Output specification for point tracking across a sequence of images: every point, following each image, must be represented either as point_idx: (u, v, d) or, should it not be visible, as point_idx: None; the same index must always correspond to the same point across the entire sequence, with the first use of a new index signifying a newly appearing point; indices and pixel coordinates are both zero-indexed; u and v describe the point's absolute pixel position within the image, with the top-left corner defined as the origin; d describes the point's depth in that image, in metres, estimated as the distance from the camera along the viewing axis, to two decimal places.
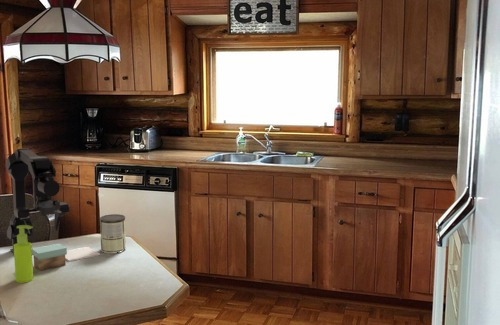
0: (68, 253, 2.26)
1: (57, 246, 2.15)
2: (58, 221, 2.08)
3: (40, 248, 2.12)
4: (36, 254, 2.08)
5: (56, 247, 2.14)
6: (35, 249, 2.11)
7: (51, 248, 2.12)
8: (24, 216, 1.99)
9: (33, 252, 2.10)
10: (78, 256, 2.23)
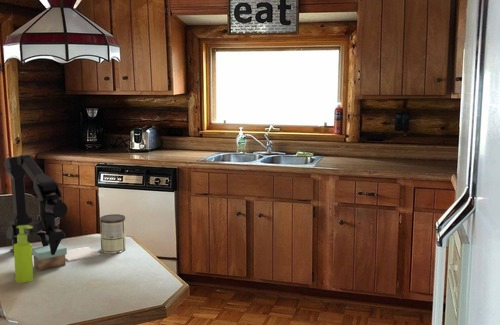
0: (68, 253, 2.26)
1: None
2: None
3: (40, 248, 2.12)
4: (36, 254, 2.08)
5: None
6: (35, 249, 2.11)
7: None
8: None
9: (33, 252, 2.10)
10: (78, 256, 2.23)
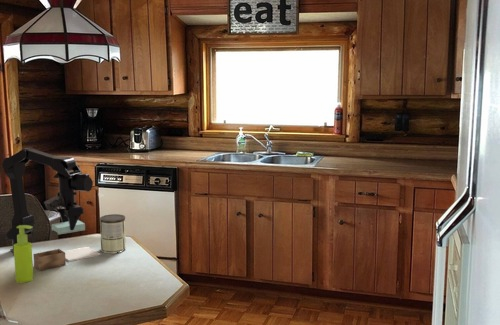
0: (68, 253, 2.26)
1: None
2: (69, 221, 2.15)
3: (59, 223, 2.20)
4: (56, 229, 2.15)
5: None
6: (55, 224, 2.18)
7: None
8: None
9: (53, 227, 2.18)
10: (78, 256, 2.23)
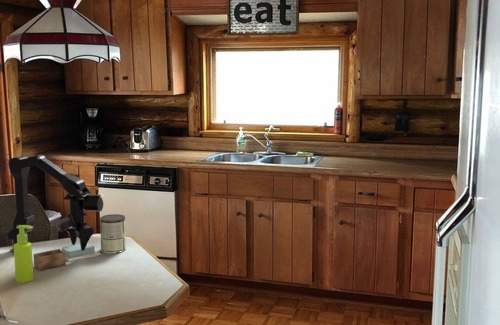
0: None
1: None
2: (80, 242, 2.21)
3: (70, 247, 2.26)
4: (67, 252, 2.22)
5: None
6: (65, 248, 2.25)
7: (80, 247, 2.26)
8: None
9: (63, 250, 2.24)
10: (78, 256, 2.23)
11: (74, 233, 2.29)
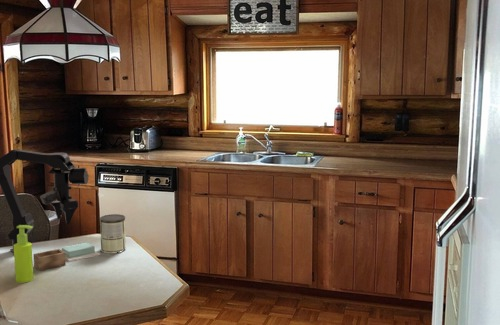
0: None
1: (85, 245, 2.29)
2: (65, 215, 2.23)
3: (70, 247, 2.26)
4: (67, 252, 2.22)
5: (84, 245, 2.28)
6: (65, 248, 2.25)
7: (80, 247, 2.26)
8: None
9: (63, 250, 2.24)
10: (78, 256, 2.23)
11: (59, 207, 2.31)
